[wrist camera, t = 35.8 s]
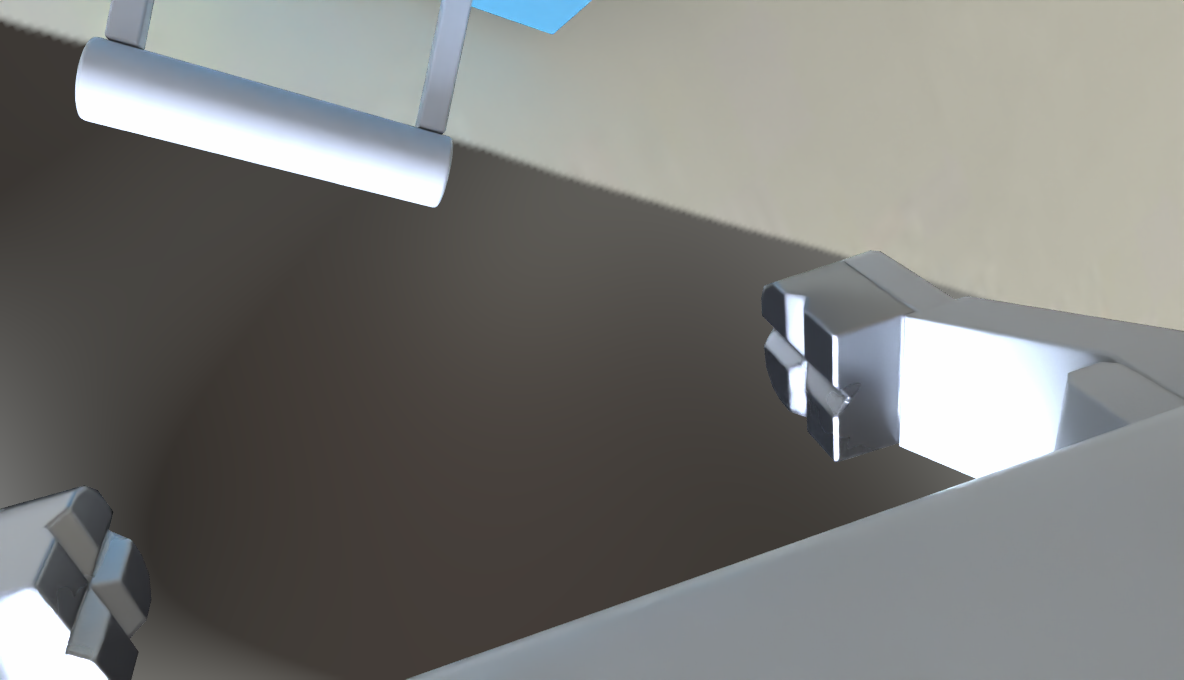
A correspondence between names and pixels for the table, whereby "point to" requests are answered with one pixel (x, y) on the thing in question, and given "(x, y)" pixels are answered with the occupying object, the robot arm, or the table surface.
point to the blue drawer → (289, 105)
